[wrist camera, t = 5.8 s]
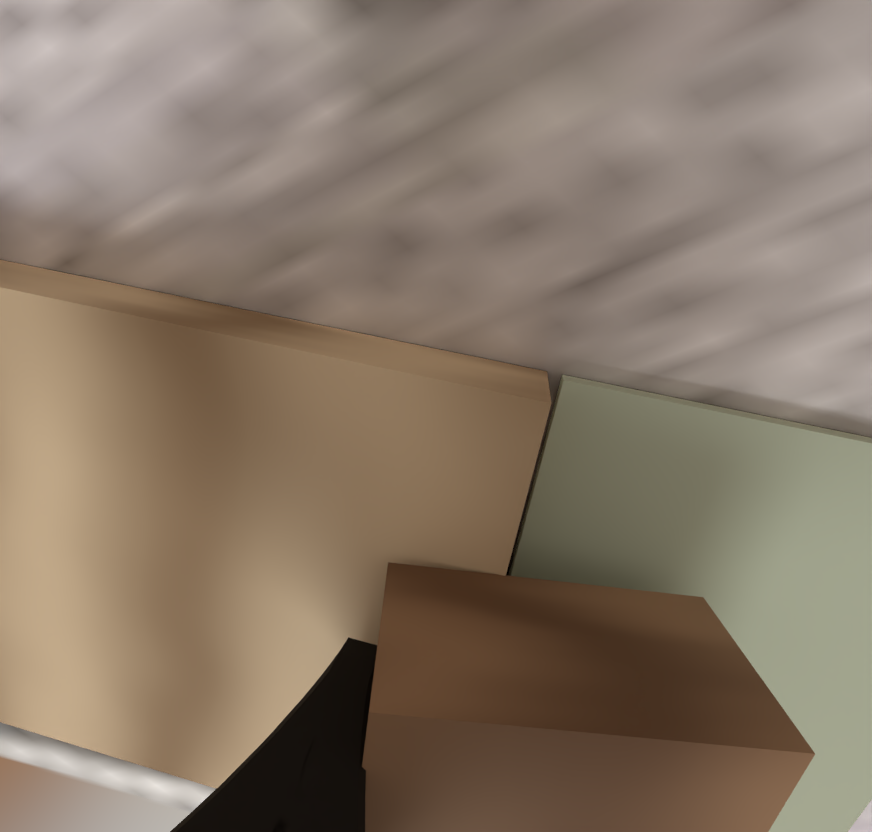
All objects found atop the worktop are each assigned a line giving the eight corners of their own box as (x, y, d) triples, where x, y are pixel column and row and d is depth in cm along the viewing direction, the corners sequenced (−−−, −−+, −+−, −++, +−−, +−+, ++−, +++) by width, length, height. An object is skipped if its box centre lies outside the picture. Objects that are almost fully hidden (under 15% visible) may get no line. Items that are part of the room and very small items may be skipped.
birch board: (5, 646, 16) (-65, 701, 14) (-75, 244, 11) (-193, 246, 9) (444, 773, 14) (431, 854, 12) (546, 371, 10) (551, 403, 8)
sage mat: (454, 776, 14) (451, 791, 14) (562, 374, 10) (563, 379, 10) (793, 875, 13) (801, 893, 13) (1078, 479, 9) (1101, 491, 9)
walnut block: (363, 749, 11) (341, 929, 8) (388, 562, 9) (369, 712, 6) (629, 772, 11) (694, 953, 9) (703, 596, 10) (815, 754, 7)
